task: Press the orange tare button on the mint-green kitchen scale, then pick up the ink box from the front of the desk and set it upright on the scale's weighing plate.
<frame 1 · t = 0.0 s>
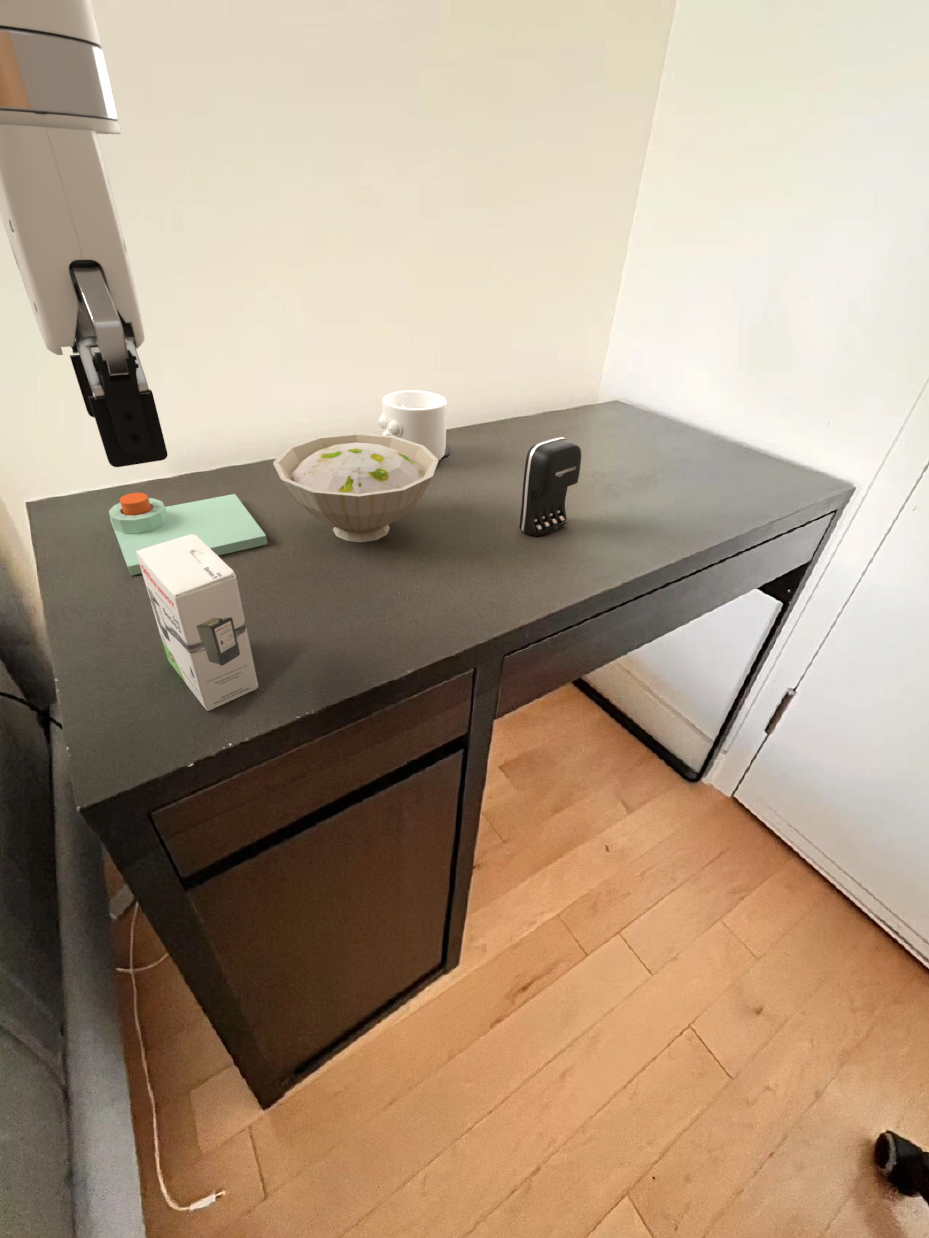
hand: (126, 436, 40), 22 cm above the table, tool pointing down, fingers open, 9 cm apart
scale: (189, 535, 74), on the table
mug: (409, 456, 98), on the table
ink box: (213, 676, 54), on the table
bowl: (361, 530, 78), on the table
battery charger: (545, 530, 80), on the table
tare button: (135, 504, 72), point 3 cm above the table, slide at 0.1 cm
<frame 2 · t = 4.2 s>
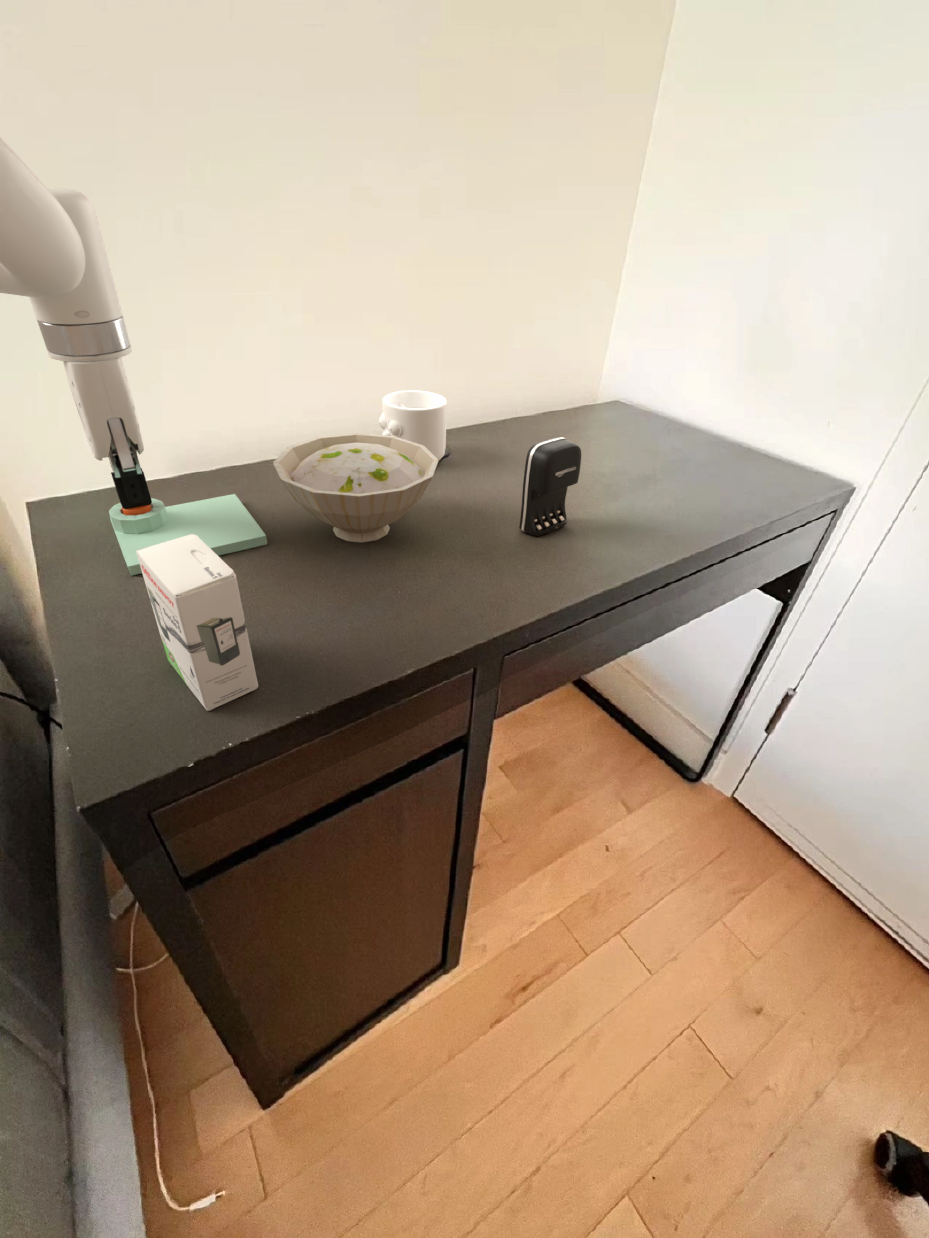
hand: (136, 504, 73), 4 cm above the table, tool pointing down, fingers closed
tare button: (137, 511, 73), point 3 cm above the table, slide at -0.8 cm, touching gripper
everything else where it was.
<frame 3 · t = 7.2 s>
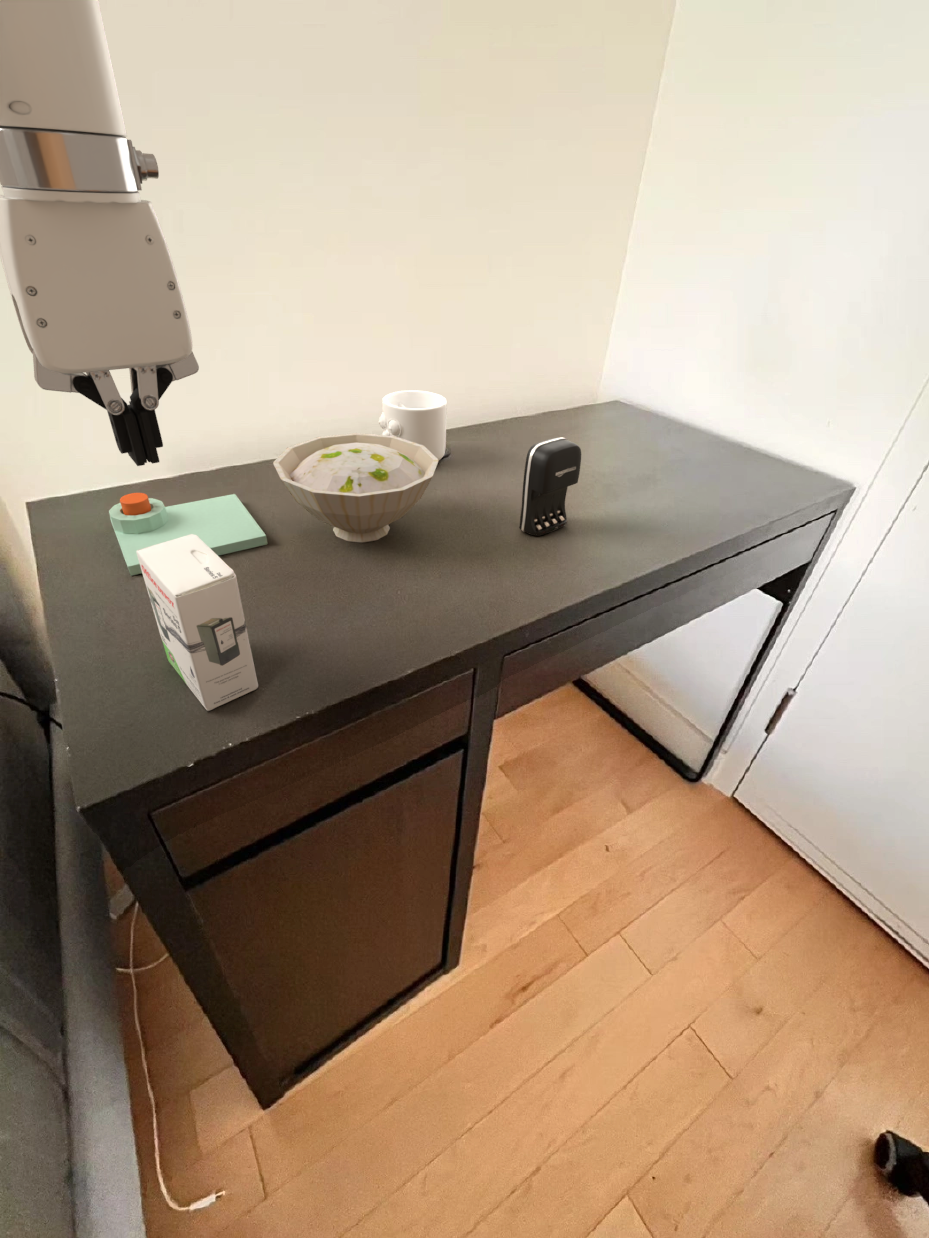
hand: (143, 458, 48), 18 cm above the table, tool pointing down, fingers closed
tare button: (135, 504, 72), point 3 cm above the table, slide at 0.1 cm
everything else where it was.
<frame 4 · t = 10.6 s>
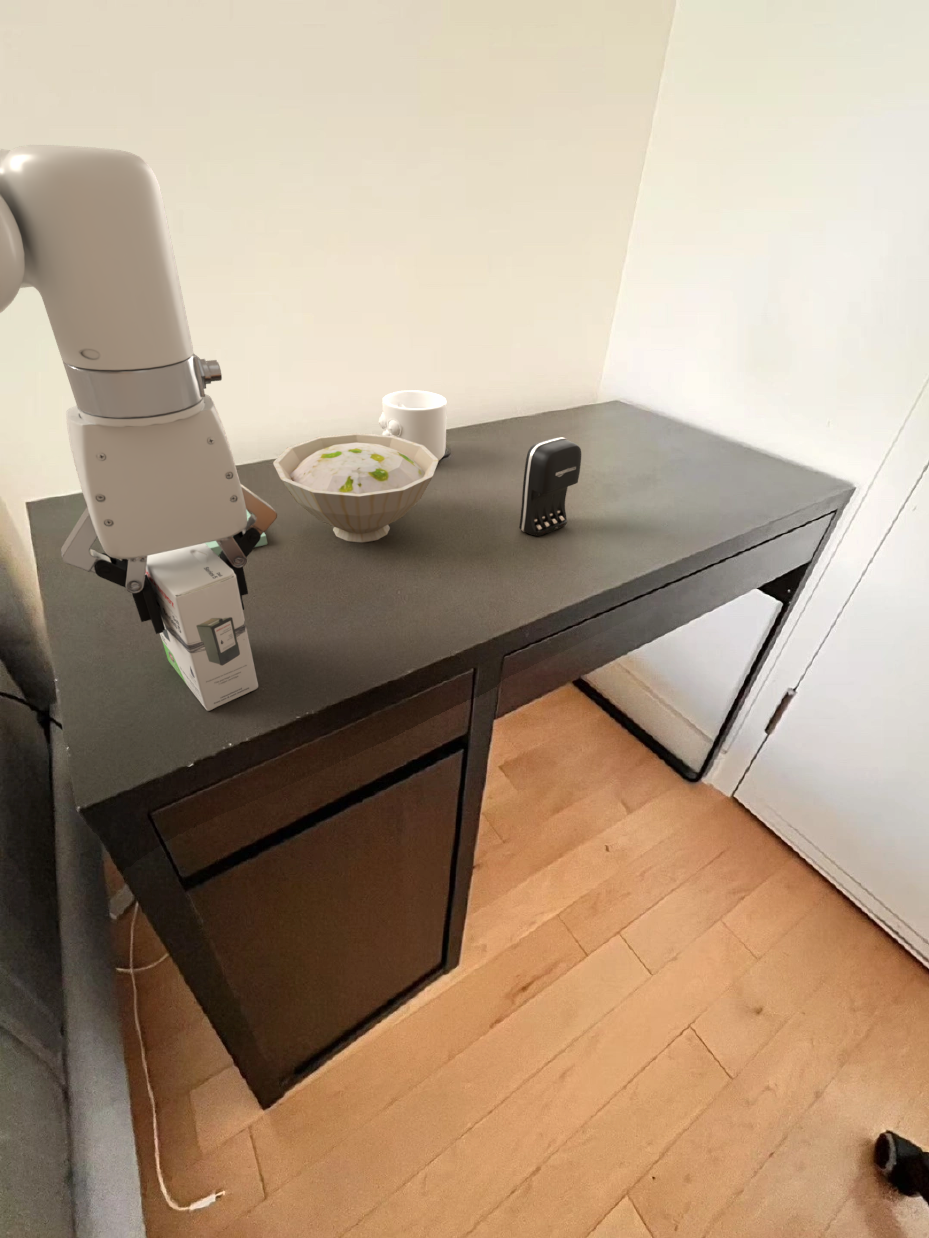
hand: (196, 611, 50), 7 cm above the table, tool pointing down, fingers closed on ink box, 5 cm apart
ink box: (213, 676, 54), on the table, touching gripper
everything else where it was.
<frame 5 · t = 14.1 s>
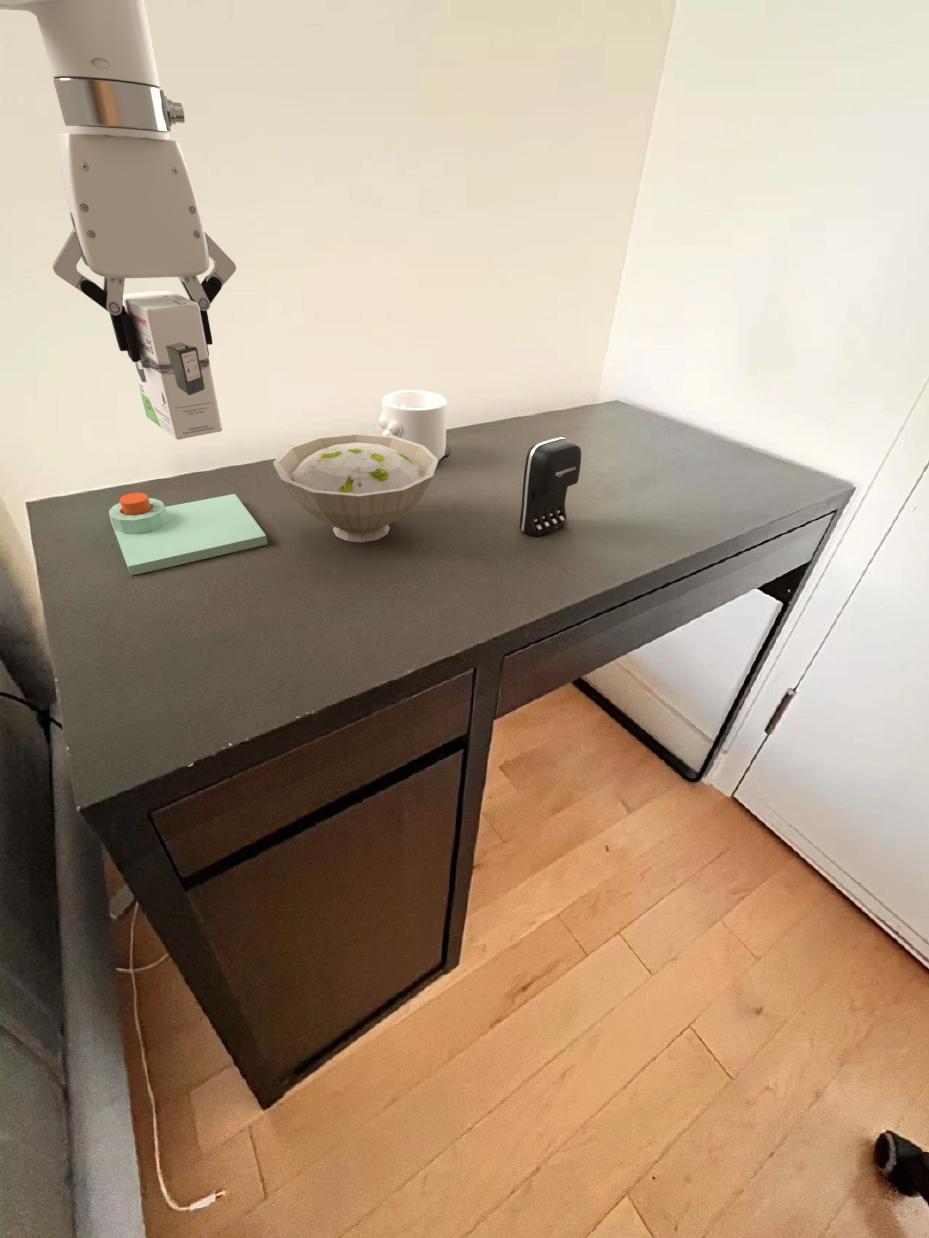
hand: (168, 353, 59), 21 cm above the table, tool pointing down, fingers closed on ink box, 5 cm apart
ink box: (184, 426, 64), point 14 cm above the table, touching gripper
everything else where it was.
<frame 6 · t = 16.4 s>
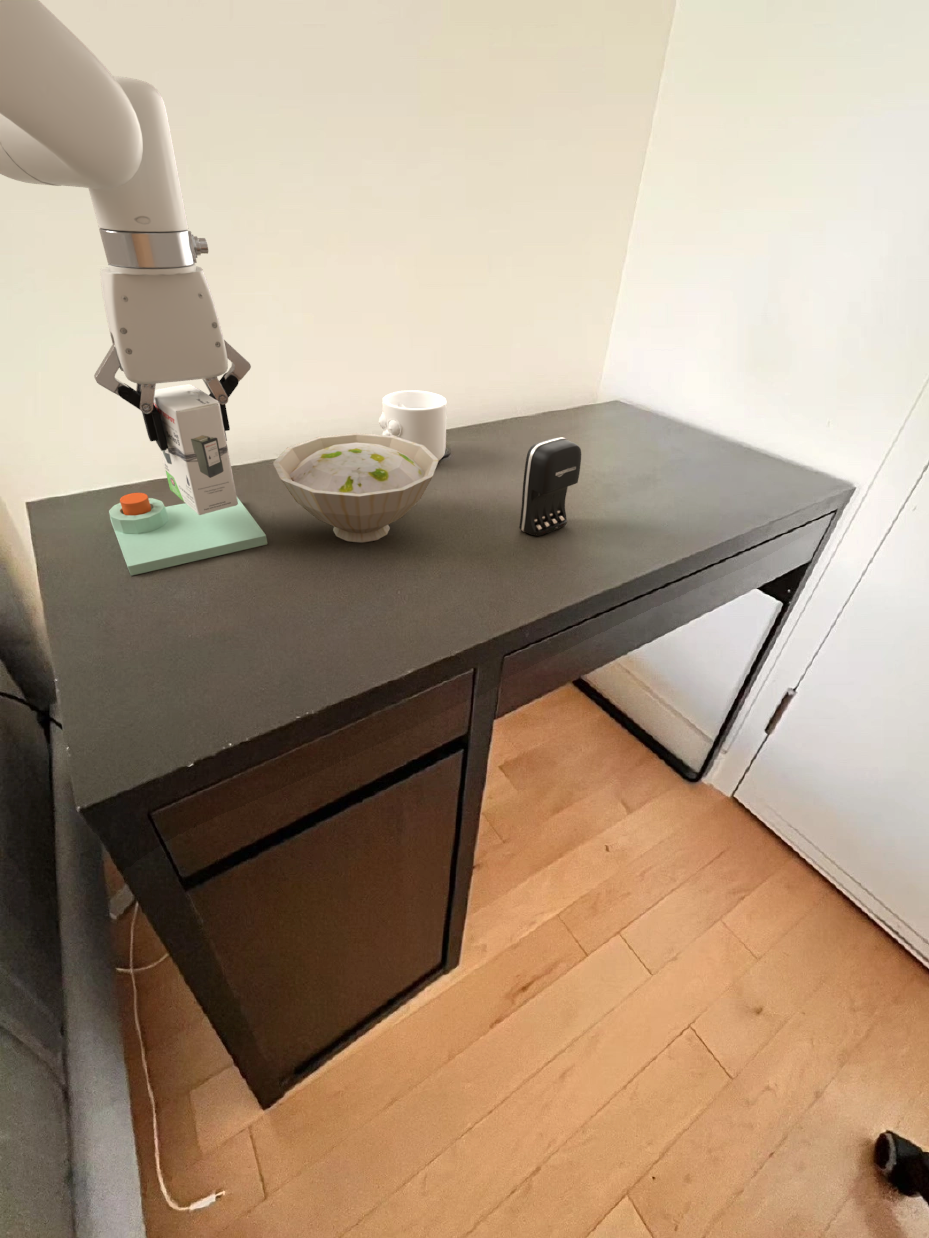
hand: (191, 440, 68), 12 cm above the table, tool pointing down, fingers closed on ink box, 5 cm apart
ink box: (204, 499, 72), point 5 cm above the table, touching gripper
everything else where it was.
when the fingers open (8 cm above the table, at t = 18.0 s): ink box stays where it is, resting on scale.
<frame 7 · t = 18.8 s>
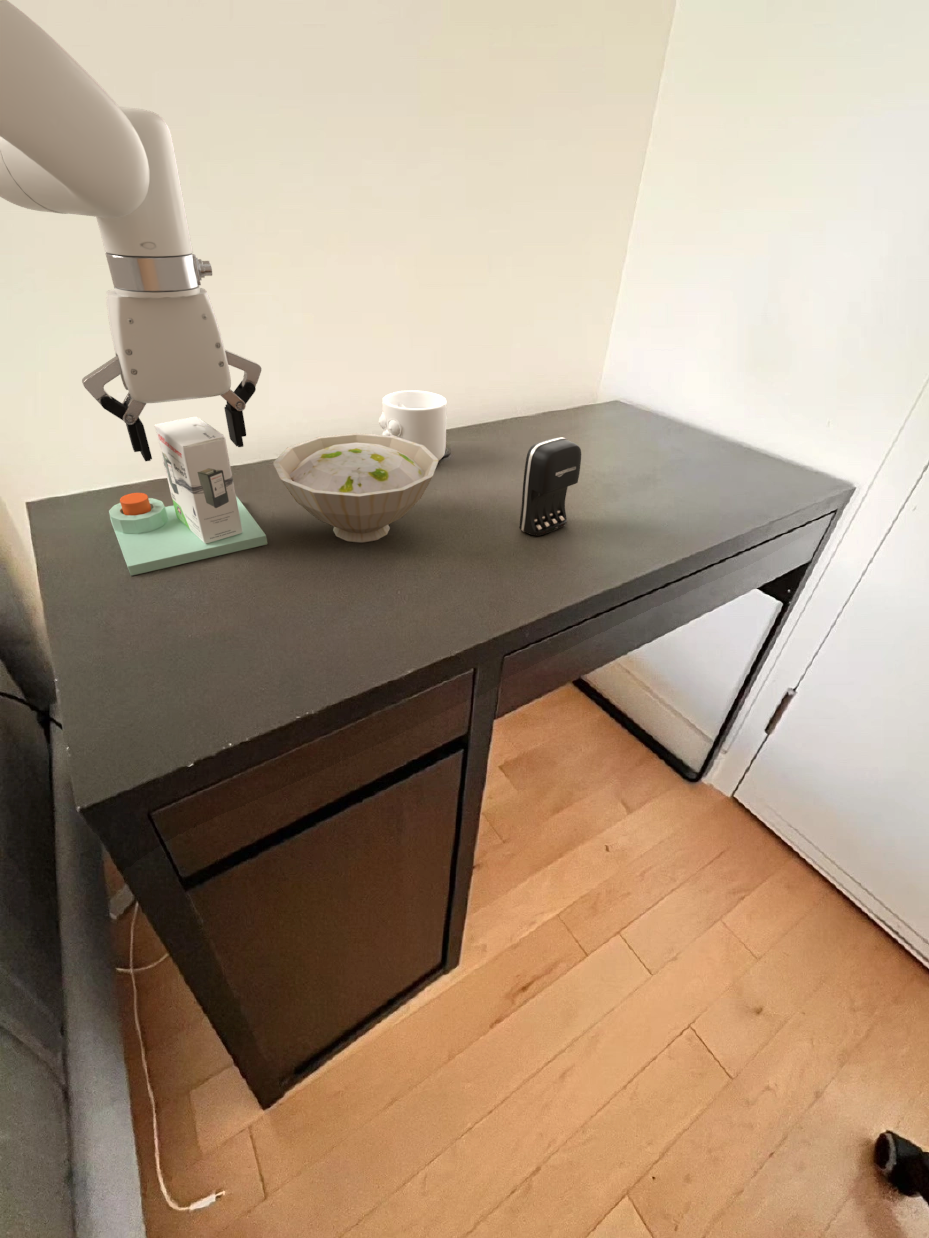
hand: (193, 450, 68), 11 cm above the table, tool pointing down, fingers open, 9 cm apart
ink box: (210, 527, 74), point 1 cm above the table, touching scale
everything else where it was.
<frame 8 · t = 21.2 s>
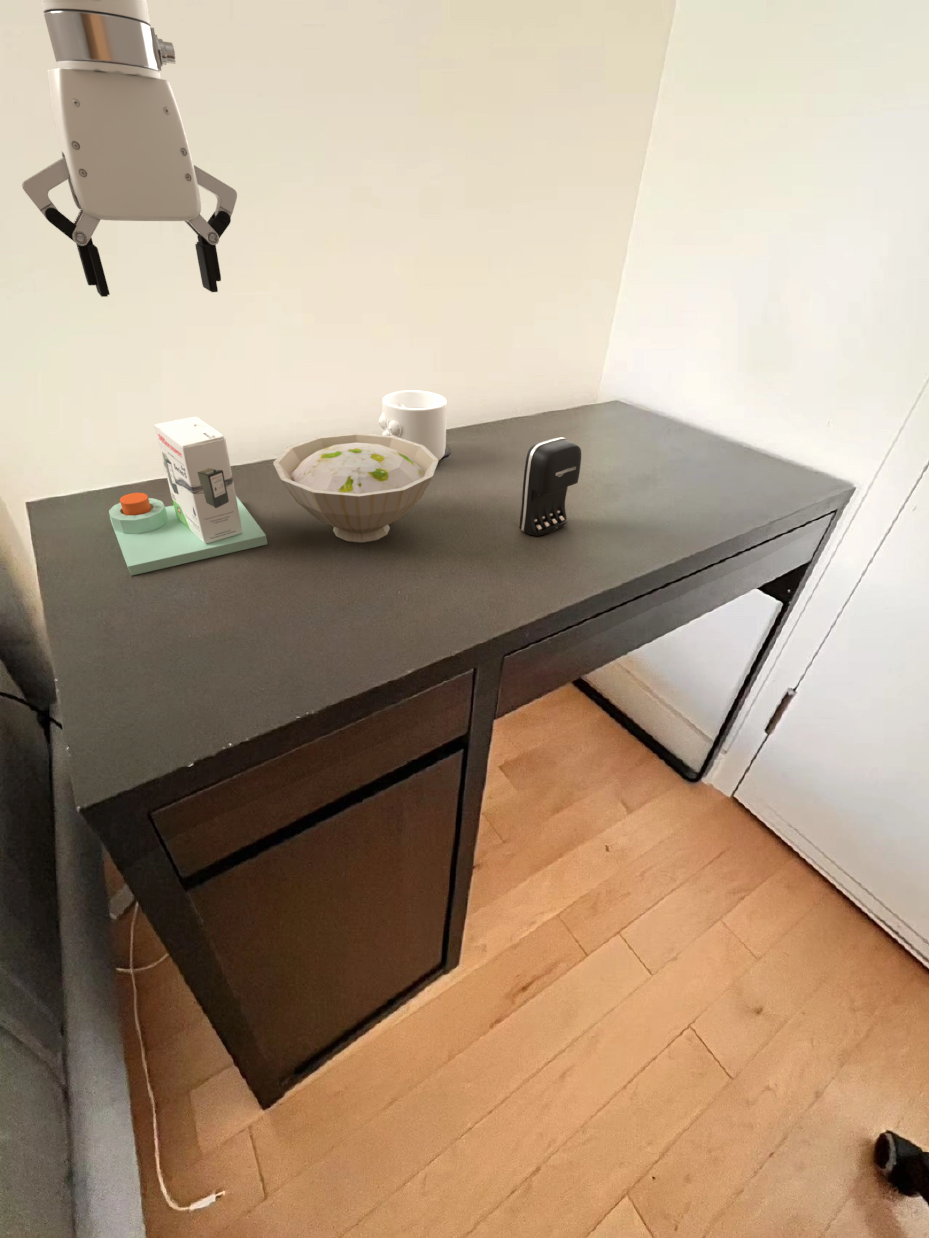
hand: (159, 292, 59), 26 cm above the table, tool pointing down, fingers open, 9 cm apart
nothing on the table moved.
at the end: tare button pushed in 1.1 cm at the most during the clip, back to where it started at the end; ink box inside the target area on the scale (2.6 cm from its centre), point 1.0 cm above the scale's base; ink box tilted 0° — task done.
